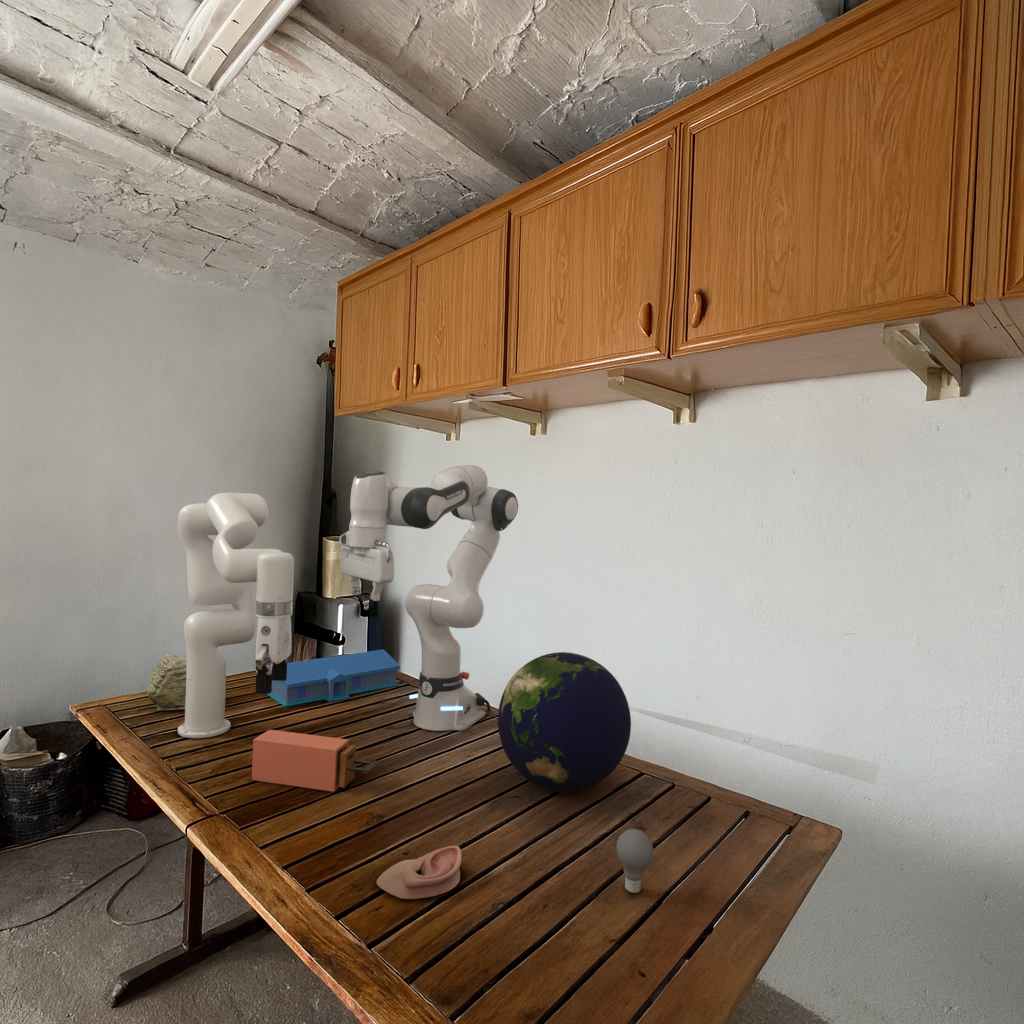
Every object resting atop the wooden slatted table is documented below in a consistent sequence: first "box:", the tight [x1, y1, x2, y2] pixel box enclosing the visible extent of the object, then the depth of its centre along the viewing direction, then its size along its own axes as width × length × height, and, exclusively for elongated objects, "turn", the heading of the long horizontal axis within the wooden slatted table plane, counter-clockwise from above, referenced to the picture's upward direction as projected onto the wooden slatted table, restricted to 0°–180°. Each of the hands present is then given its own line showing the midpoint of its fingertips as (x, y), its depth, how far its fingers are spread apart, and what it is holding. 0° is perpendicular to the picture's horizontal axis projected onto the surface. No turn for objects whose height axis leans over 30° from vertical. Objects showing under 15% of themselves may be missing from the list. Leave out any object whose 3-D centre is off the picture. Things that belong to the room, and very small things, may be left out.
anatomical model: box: [376, 845, 463, 900], centre depth 106 cm, size 13×4×12 cm
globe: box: [497, 651, 632, 793], centre depth 143 cm, size 30×30×30 cm
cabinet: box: [251, 729, 350, 793], centre depth 141 cm, size 20×6×9 cm, turn 79°
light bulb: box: [615, 828, 654, 894], centre depth 106 cm, size 6×6×10 cm
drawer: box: [336, 744, 378, 789], centre depth 140 cm, size 24×5×7 cm, turn 79°
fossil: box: [147, 654, 187, 712], centre depth 185 cm, size 9×18×15 cm, turn 132°
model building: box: [266, 649, 401, 707], centre depth 208 cm, size 39×24×10 cm, turn 132°
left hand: (271, 686), depth 139 cm, fingers open, 9 cm apart
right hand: (365, 597), depth 150 cm, fingers open, 8 cm apart
